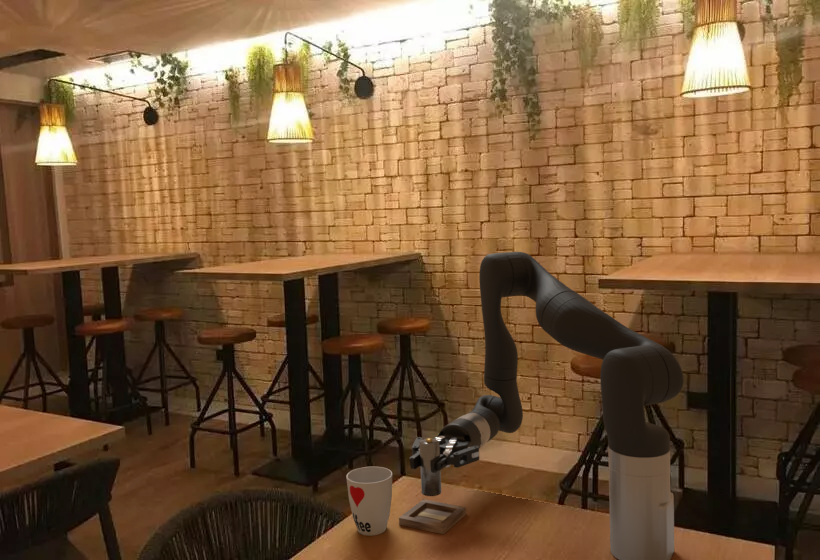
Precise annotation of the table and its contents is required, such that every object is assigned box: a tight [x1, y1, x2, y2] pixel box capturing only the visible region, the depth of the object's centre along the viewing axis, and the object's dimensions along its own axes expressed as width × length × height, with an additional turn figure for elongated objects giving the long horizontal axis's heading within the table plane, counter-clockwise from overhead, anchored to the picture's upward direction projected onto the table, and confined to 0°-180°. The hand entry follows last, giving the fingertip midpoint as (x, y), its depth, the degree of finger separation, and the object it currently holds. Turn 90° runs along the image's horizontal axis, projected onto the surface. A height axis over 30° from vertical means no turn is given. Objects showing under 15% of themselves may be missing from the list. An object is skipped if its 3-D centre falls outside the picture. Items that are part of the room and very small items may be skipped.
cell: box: [419, 437, 442, 497], centre depth 125 cm, size 4×4×10 cm
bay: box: [398, 498, 467, 535], centre depth 126 cm, size 9×9×1 cm
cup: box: [345, 466, 393, 536], centre depth 122 cm, size 8×8×10 cm
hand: (422, 465), depth 122 cm, fingers closed on cell, 3 cm apart
